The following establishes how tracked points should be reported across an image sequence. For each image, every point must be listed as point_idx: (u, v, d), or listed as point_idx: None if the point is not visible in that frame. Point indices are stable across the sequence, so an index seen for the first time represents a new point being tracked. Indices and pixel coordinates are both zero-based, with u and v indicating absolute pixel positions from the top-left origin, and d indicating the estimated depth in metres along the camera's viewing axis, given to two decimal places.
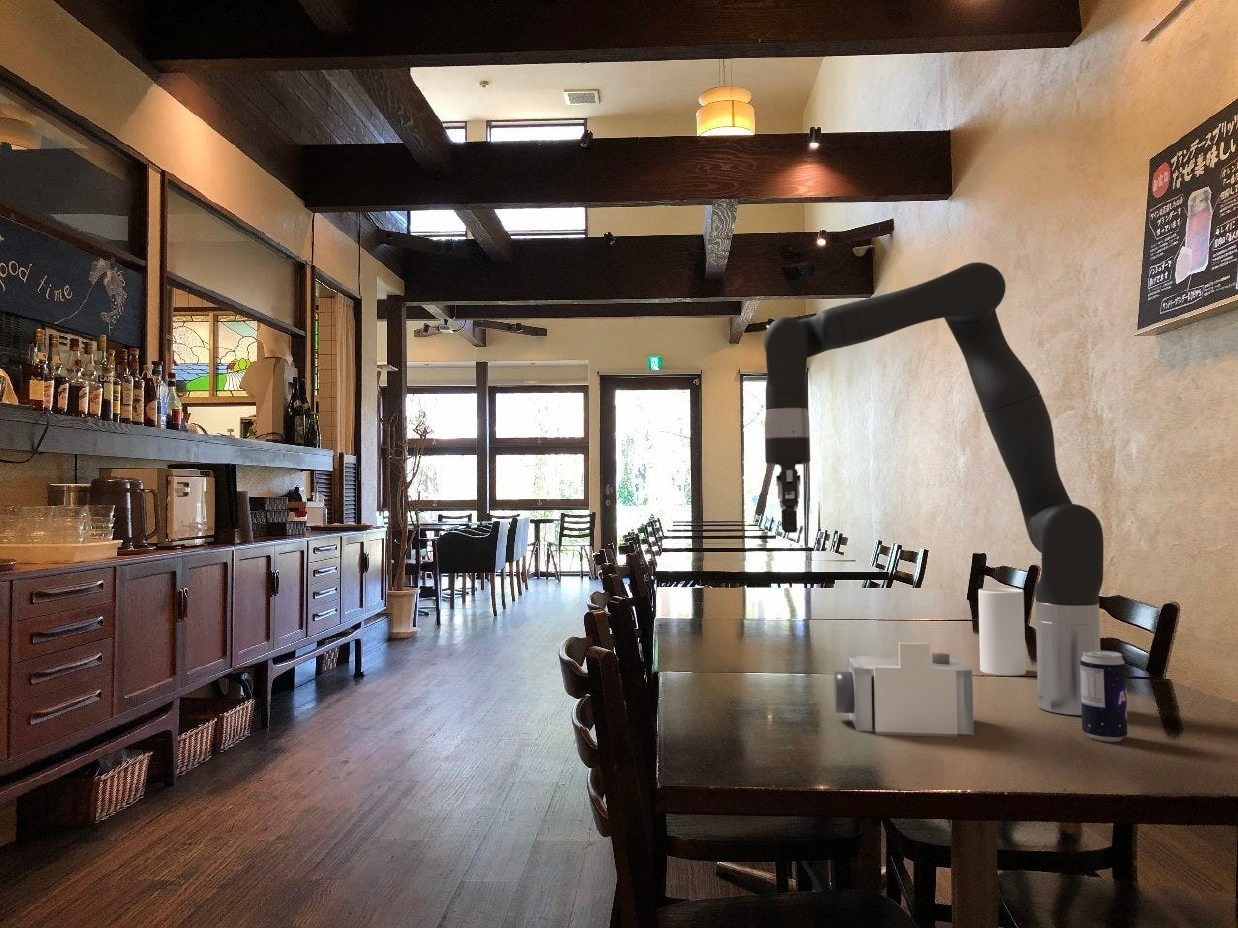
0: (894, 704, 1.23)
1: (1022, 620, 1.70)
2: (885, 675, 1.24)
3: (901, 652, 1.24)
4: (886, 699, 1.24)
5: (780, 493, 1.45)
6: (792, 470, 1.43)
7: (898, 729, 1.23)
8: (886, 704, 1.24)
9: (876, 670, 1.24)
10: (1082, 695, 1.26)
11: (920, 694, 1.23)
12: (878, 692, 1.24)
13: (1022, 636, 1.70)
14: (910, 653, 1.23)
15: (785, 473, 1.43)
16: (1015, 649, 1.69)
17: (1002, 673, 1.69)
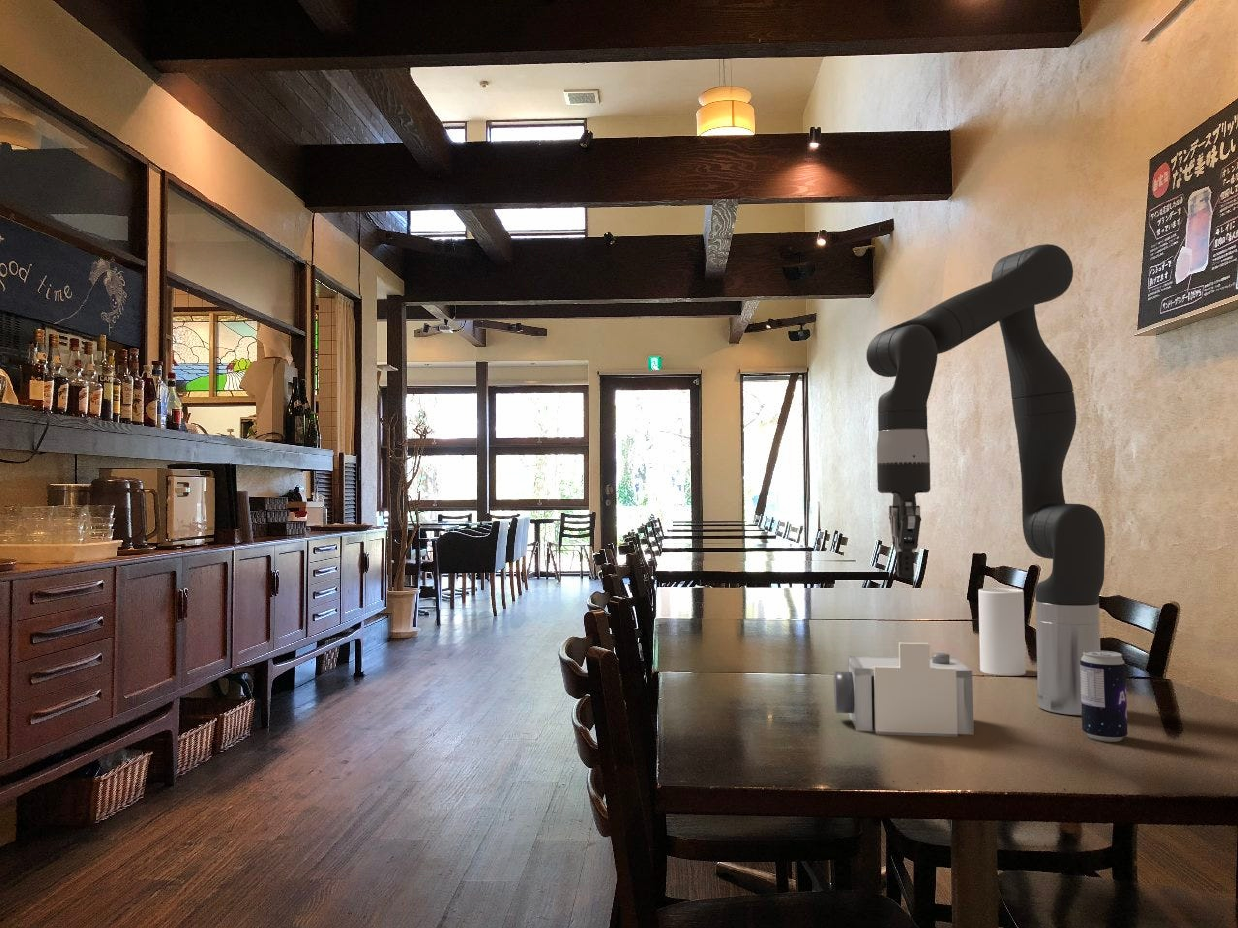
0: (894, 704, 1.23)
1: (1022, 620, 1.70)
2: (885, 675, 1.24)
3: (901, 652, 1.24)
4: (886, 699, 1.24)
5: (896, 534, 1.29)
6: (915, 519, 1.24)
7: (898, 729, 1.23)
8: (886, 704, 1.24)
9: (876, 670, 1.24)
10: (1082, 695, 1.26)
11: (920, 694, 1.23)
12: (878, 692, 1.24)
13: (1022, 636, 1.70)
14: (910, 653, 1.23)
15: (906, 522, 1.25)
16: (1015, 649, 1.69)
17: (1002, 673, 1.69)
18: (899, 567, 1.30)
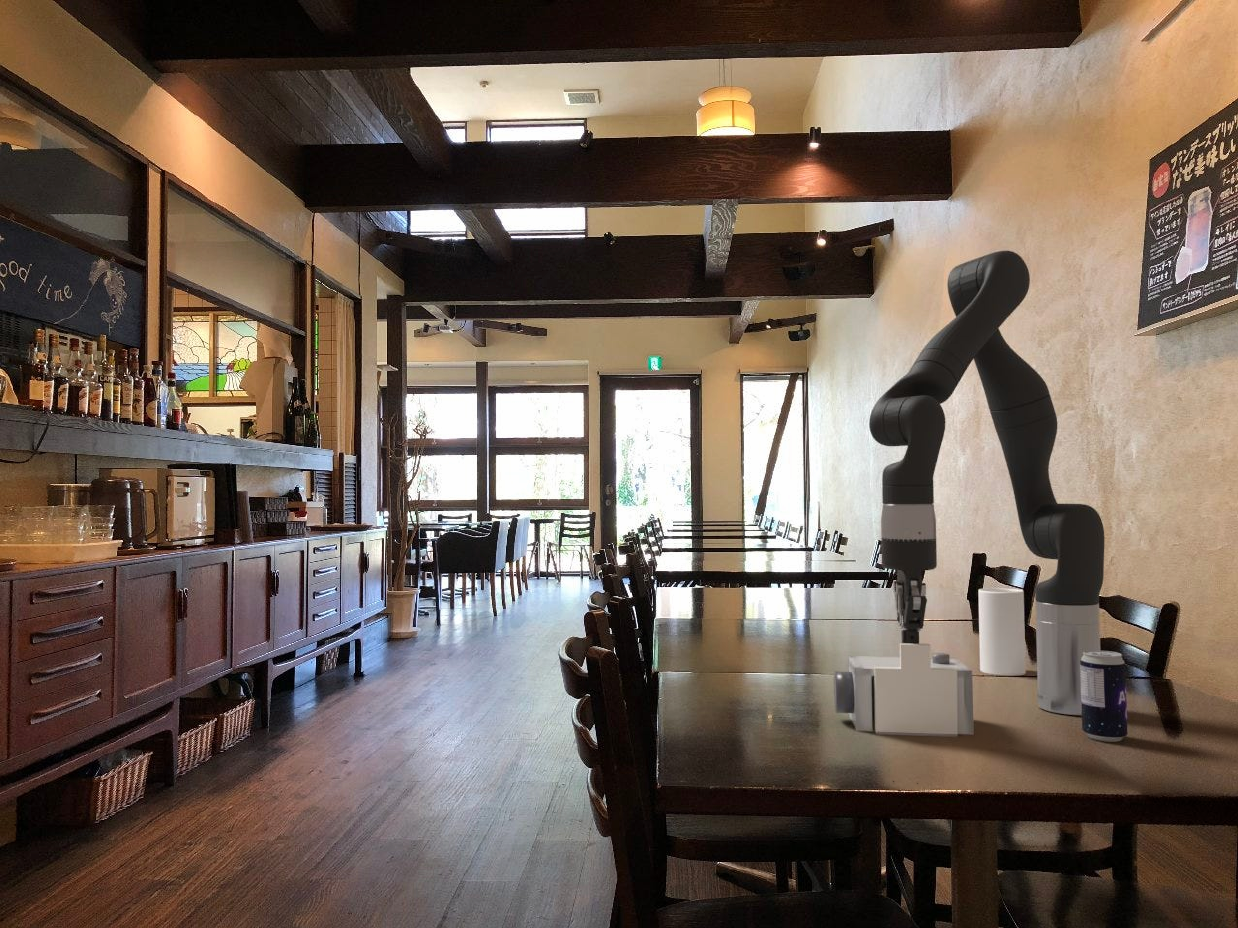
0: (894, 704, 1.23)
1: (1022, 620, 1.70)
2: (886, 676, 1.23)
3: (902, 653, 1.23)
4: (887, 699, 1.23)
5: (901, 612, 1.24)
6: (920, 600, 1.20)
7: (898, 729, 1.23)
8: (886, 705, 1.23)
9: (877, 671, 1.23)
10: (1082, 695, 1.26)
11: (920, 695, 1.23)
12: (879, 693, 1.23)
13: (1022, 636, 1.70)
14: (911, 654, 1.23)
15: (912, 603, 1.20)
16: (1015, 649, 1.69)
17: (1002, 673, 1.69)
18: None
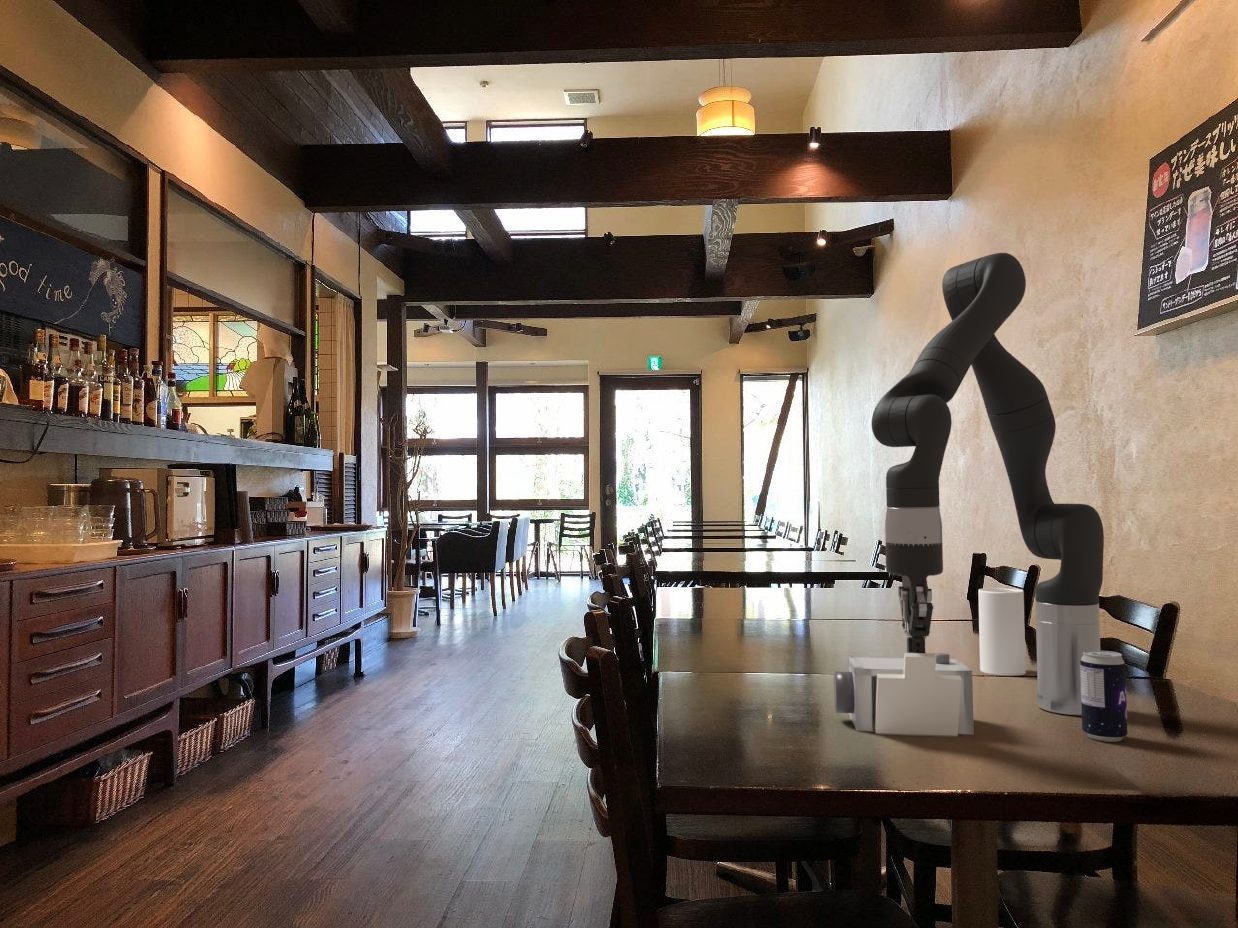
0: (895, 710, 1.22)
1: (1022, 620, 1.70)
2: (888, 685, 1.21)
3: (906, 664, 1.19)
4: (888, 705, 1.22)
5: (906, 619, 1.20)
6: (926, 607, 1.16)
7: (898, 731, 1.23)
8: (888, 710, 1.22)
9: (879, 680, 1.21)
10: (1082, 695, 1.26)
11: (923, 701, 1.21)
12: (880, 699, 1.22)
13: (1022, 636, 1.70)
14: (915, 665, 1.19)
15: (917, 610, 1.16)
16: (1015, 649, 1.69)
17: (1002, 673, 1.69)
18: None
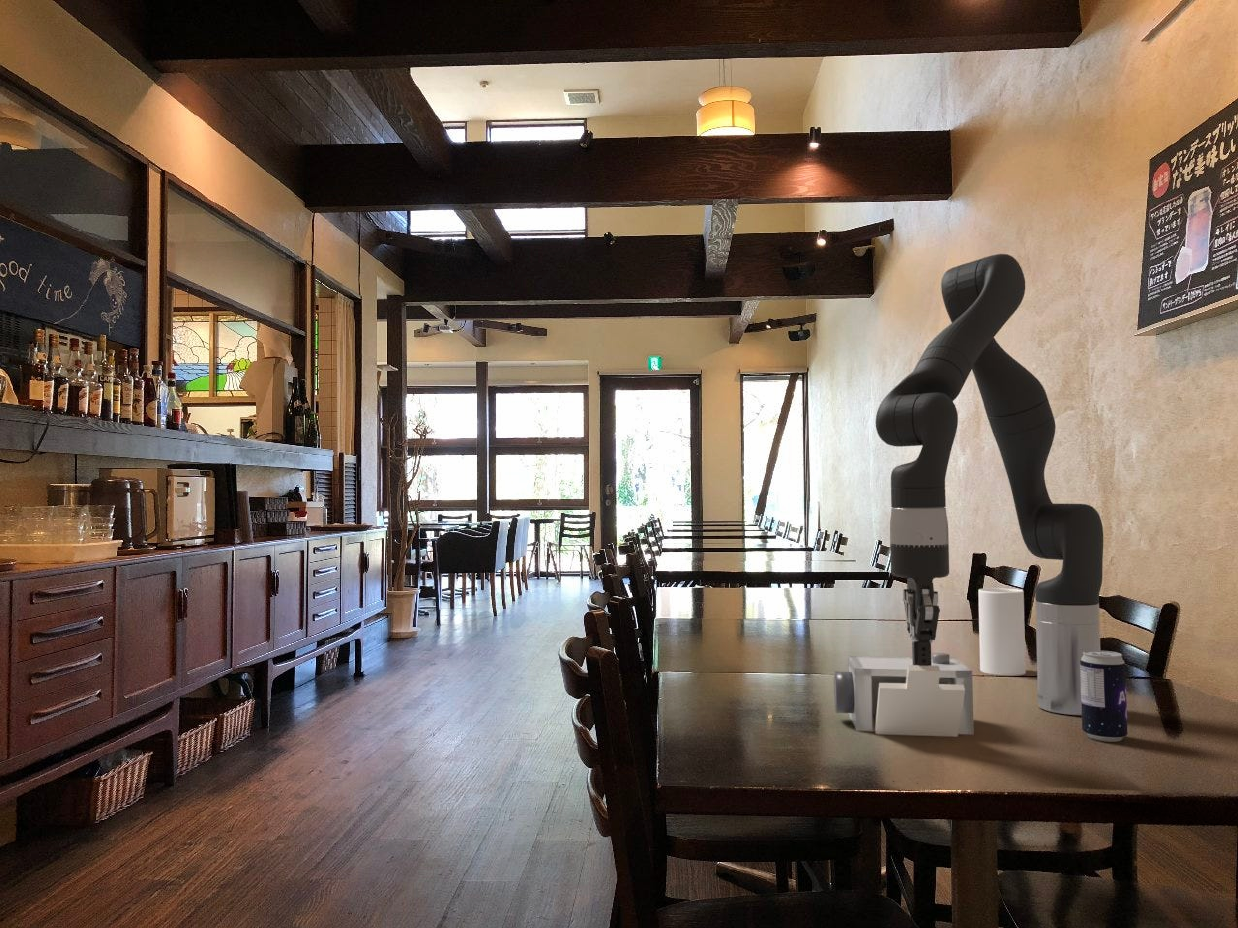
0: (896, 715, 1.21)
1: (1022, 620, 1.70)
2: (890, 694, 1.19)
3: (909, 677, 1.17)
4: (889, 711, 1.21)
5: (911, 622, 1.17)
6: (933, 610, 1.13)
7: (898, 732, 1.23)
8: (889, 715, 1.21)
9: (881, 690, 1.19)
10: (1082, 695, 1.26)
11: (924, 708, 1.20)
12: (882, 706, 1.21)
13: (1022, 636, 1.70)
14: (919, 678, 1.17)
15: (924, 613, 1.13)
16: (1015, 649, 1.69)
17: (1002, 673, 1.69)
18: (915, 658, 1.18)
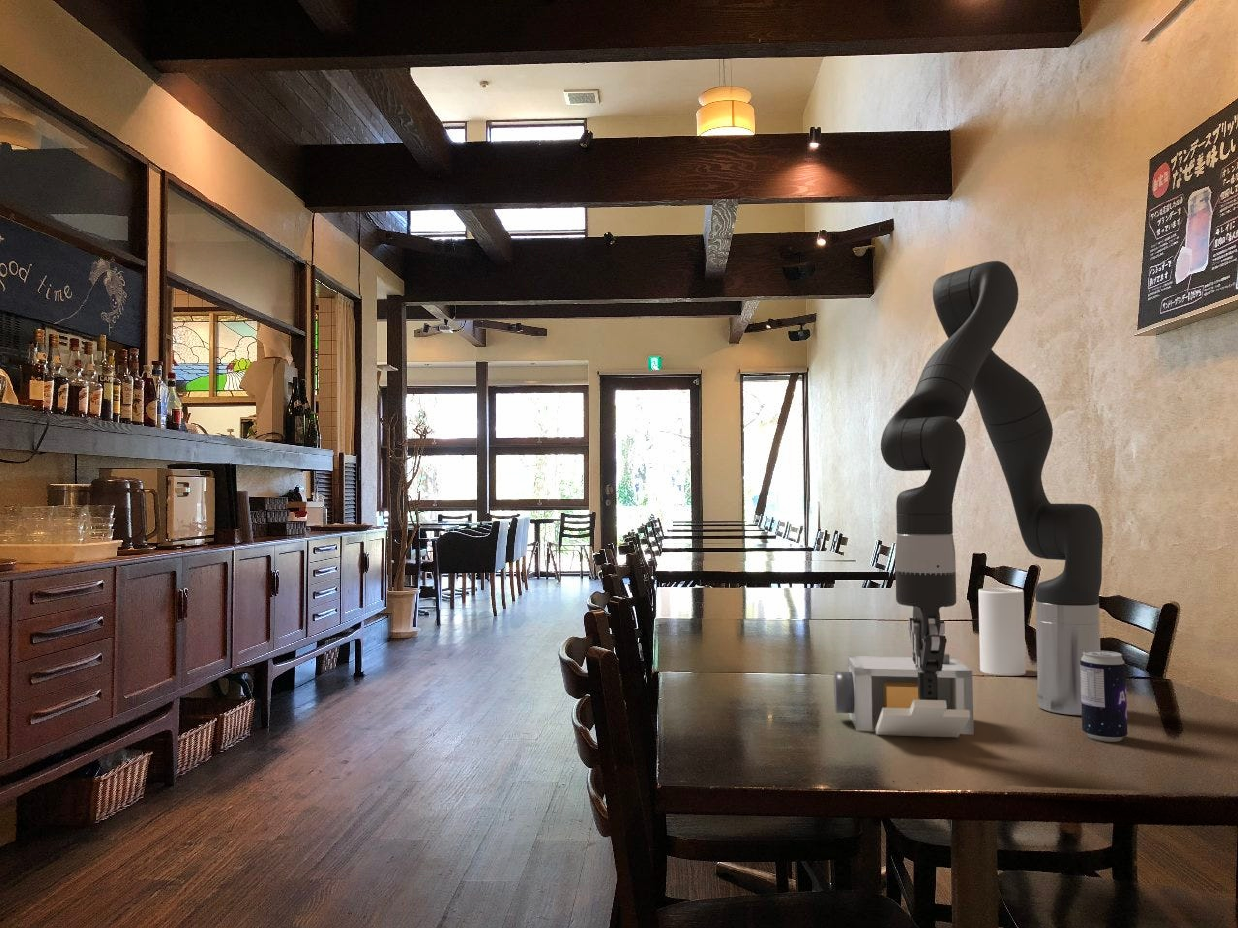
0: (898, 727, 1.20)
1: (1022, 620, 1.70)
2: (893, 717, 1.17)
3: (914, 710, 1.14)
4: (891, 725, 1.20)
5: (917, 653, 1.14)
6: (939, 640, 1.09)
7: (899, 735, 1.23)
8: (890, 727, 1.20)
9: (884, 716, 1.17)
10: (1082, 695, 1.26)
11: (927, 725, 1.18)
12: (884, 723, 1.19)
13: (1022, 636, 1.70)
14: (924, 710, 1.14)
15: (930, 644, 1.09)
16: (1015, 649, 1.69)
17: (1002, 673, 1.69)
18: (921, 690, 1.14)
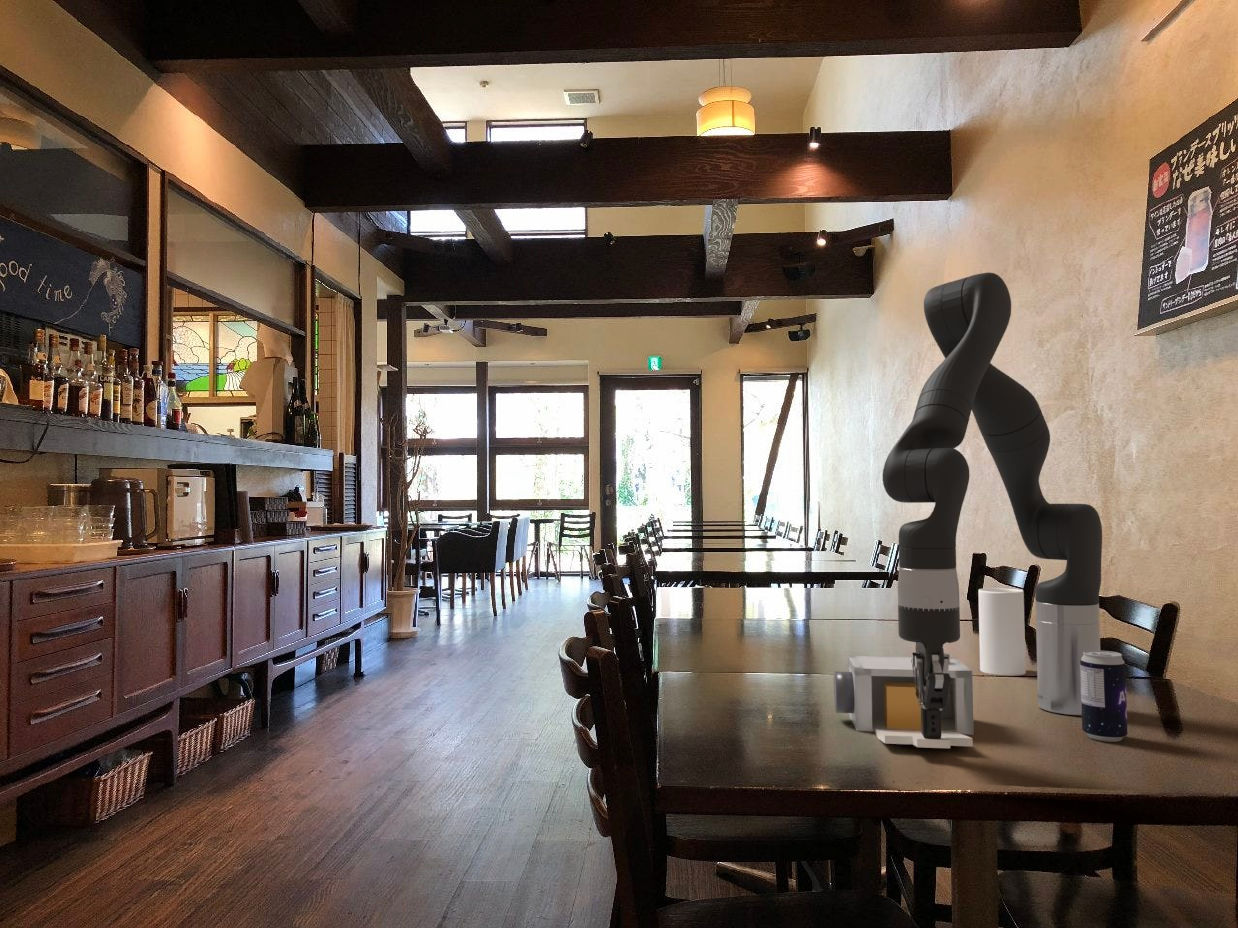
0: None
1: (1022, 620, 1.70)
2: None
3: (916, 746, 1.12)
4: None
5: (920, 689, 1.12)
6: (943, 678, 1.07)
7: None
8: None
9: (886, 743, 1.15)
10: (1082, 695, 1.26)
11: None
12: None
13: (1022, 636, 1.70)
14: None
15: (934, 682, 1.07)
16: (1015, 649, 1.69)
17: (1002, 673, 1.69)
18: (924, 726, 1.12)
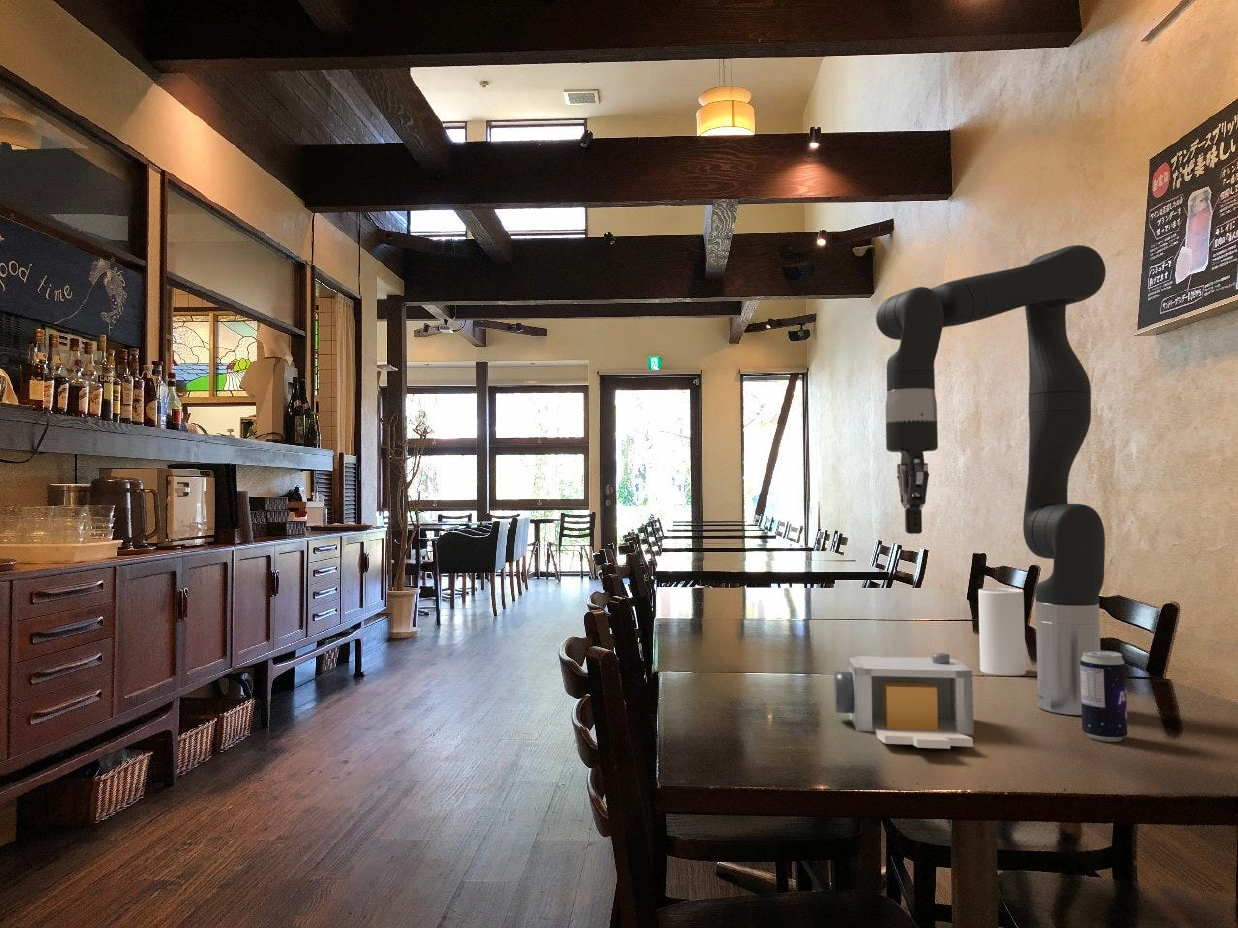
0: None
1: (1022, 620, 1.70)
2: None
3: (917, 746, 1.12)
4: None
5: (904, 490, 1.33)
6: (923, 474, 1.28)
7: None
8: None
9: None
10: (1082, 695, 1.26)
11: None
12: None
13: (1022, 636, 1.70)
14: None
15: (915, 478, 1.29)
16: (1015, 649, 1.69)
17: (1002, 673, 1.69)
18: (907, 523, 1.33)
